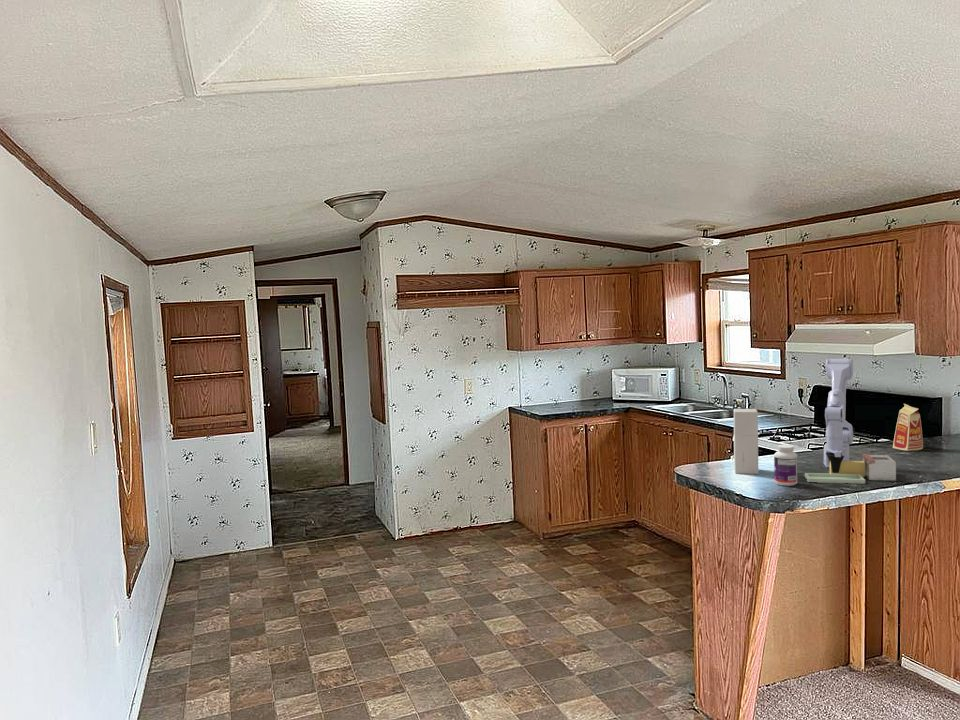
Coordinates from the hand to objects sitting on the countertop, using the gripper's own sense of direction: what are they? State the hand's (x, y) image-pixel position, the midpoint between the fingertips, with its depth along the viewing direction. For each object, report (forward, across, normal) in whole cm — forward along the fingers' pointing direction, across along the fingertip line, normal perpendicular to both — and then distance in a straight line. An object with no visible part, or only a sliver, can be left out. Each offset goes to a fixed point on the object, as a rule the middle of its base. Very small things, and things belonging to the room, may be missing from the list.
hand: (834, 471), depth 301 cm
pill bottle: (+2, -16, +20) cm, 26 cm away
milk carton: (+2, +58, -40) cm, 70 cm away
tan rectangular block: (+1, 0, -4) cm, 5 cm away
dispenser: (+1, 0, -16) cm, 16 cm away
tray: (+1, -8, +2) cm, 9 cm away
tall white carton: (+2, +4, +32) cm, 33 cm away
